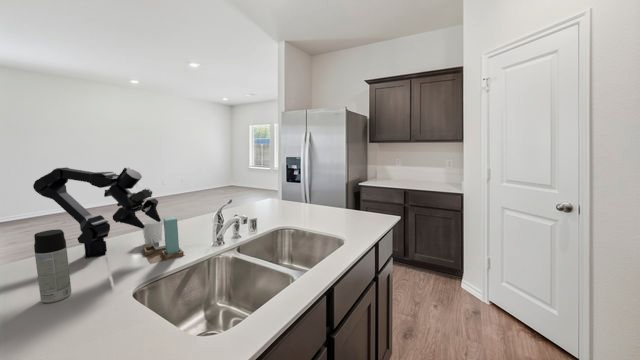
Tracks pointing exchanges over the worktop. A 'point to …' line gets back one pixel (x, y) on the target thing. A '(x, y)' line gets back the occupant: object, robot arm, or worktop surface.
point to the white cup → (152, 231)
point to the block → (171, 235)
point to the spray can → (52, 265)
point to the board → (159, 254)
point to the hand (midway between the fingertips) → (152, 224)
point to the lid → (158, 244)
